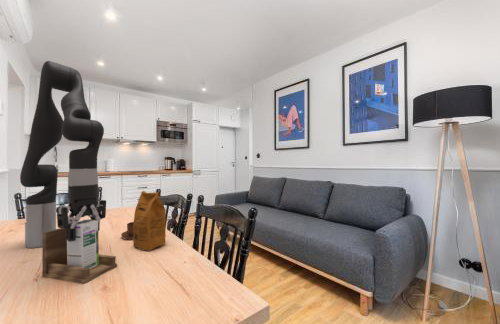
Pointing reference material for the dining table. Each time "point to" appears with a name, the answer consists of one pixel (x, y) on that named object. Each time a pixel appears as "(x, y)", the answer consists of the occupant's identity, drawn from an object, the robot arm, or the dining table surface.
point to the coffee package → (149, 222)
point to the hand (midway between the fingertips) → (83, 236)
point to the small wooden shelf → (57, 260)
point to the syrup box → (84, 245)
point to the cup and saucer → (128, 231)
